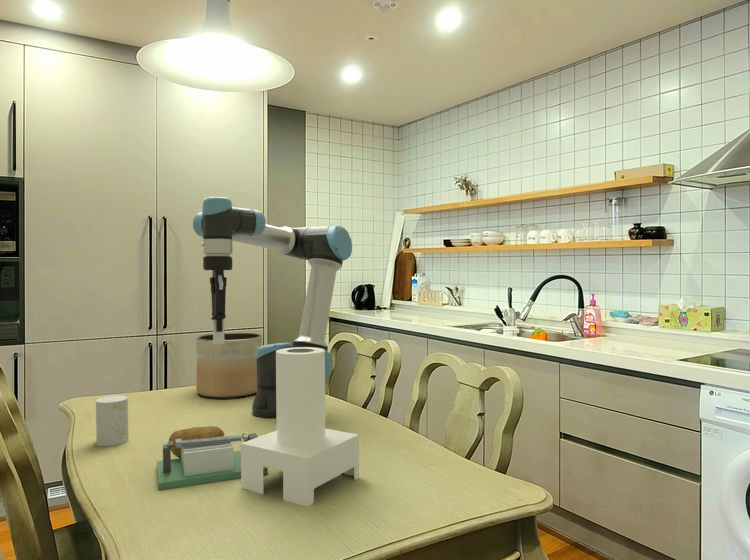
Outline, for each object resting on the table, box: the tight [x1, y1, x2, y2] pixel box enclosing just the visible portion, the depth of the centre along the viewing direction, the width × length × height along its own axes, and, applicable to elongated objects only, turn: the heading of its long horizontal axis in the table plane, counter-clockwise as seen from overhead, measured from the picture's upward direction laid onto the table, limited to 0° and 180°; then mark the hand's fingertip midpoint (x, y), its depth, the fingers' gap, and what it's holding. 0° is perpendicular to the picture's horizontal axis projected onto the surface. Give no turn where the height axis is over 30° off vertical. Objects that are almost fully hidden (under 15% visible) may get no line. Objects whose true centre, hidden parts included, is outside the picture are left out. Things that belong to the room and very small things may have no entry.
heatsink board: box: [156, 432, 269, 491], centre depth 133 cm, size 24×15×8 cm, turn 113°
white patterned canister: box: [95, 395, 130, 447], centre depth 157 cm, size 8×8×12 cm
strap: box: [175, 433, 248, 448], centre depth 134 cm, size 17×3×1 cm, turn 113°
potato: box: [168, 425, 225, 459], centre depth 142 cm, size 10×14×8 cm
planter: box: [196, 332, 263, 399], centre depth 218 cm, size 25×25×22 cm
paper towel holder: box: [240, 347, 360, 507], centre depth 126 cm, size 19×19×30 cm
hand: (218, 343), depth 149 cm, fingers closed
